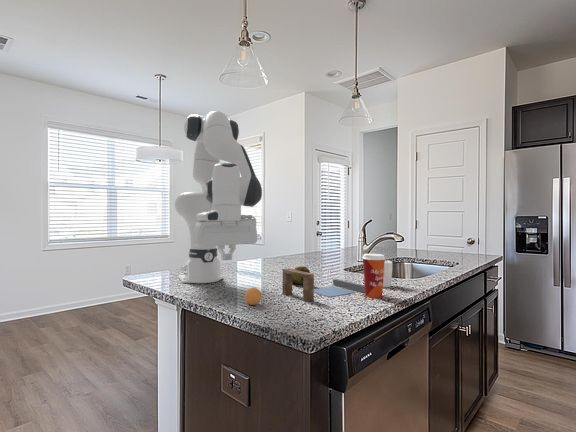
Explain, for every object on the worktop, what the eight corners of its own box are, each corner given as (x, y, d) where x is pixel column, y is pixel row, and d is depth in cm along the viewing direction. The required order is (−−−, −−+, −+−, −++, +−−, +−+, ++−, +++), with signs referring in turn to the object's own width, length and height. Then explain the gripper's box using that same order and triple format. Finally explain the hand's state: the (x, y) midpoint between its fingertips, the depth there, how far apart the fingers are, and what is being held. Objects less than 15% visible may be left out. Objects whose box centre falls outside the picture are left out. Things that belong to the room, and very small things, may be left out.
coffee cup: (375, 299, 118) (375, 256, 118) (357, 295, 125) (357, 254, 125) (390, 296, 123) (390, 254, 123) (372, 292, 130) (372, 252, 130)
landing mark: (307, 290, 132) (307, 290, 132) (332, 286, 140) (332, 286, 140) (329, 297, 122) (329, 296, 122) (355, 292, 129) (355, 292, 129)
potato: (303, 281, 152) (303, 263, 152) (312, 287, 139) (312, 267, 139) (285, 281, 150) (285, 263, 150) (292, 288, 137) (292, 268, 137)
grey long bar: (333, 285, 142) (333, 279, 142) (336, 284, 144) (336, 278, 144) (366, 293, 128) (366, 286, 128) (369, 292, 129) (369, 286, 129)
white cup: (385, 288, 137) (385, 263, 137) (368, 285, 143) (368, 261, 142) (396, 286, 142) (396, 261, 142) (379, 283, 148) (379, 259, 148)
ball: (241, 304, 112) (241, 287, 112) (256, 301, 115) (256, 285, 115) (249, 308, 107) (249, 290, 107) (264, 305, 111) (264, 288, 111)
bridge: (306, 302, 115) (307, 274, 115) (282, 293, 127) (282, 269, 127) (313, 300, 117) (313, 273, 117) (289, 292, 128) (289, 268, 128)
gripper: (251, 215, 114) (251, 256, 114) (191, 215, 102) (191, 261, 102) (260, 214, 109) (261, 258, 109) (198, 214, 97) (199, 263, 97)
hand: (226, 259), depth 106 cm, fingers closed
